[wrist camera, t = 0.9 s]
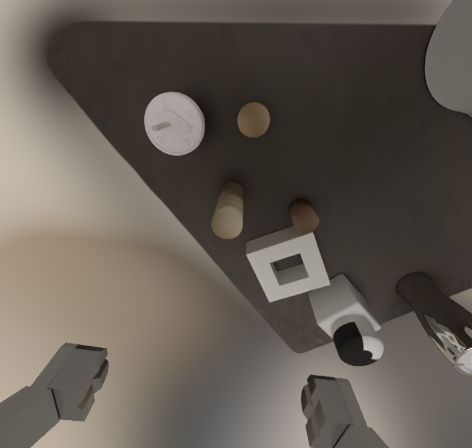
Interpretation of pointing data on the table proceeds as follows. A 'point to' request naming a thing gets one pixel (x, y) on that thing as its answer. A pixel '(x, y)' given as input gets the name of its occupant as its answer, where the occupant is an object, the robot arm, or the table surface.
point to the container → (347, 321)
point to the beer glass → (440, 319)
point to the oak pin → (253, 119)
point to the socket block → (291, 278)
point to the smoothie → (174, 123)
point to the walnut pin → (303, 216)
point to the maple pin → (229, 211)
